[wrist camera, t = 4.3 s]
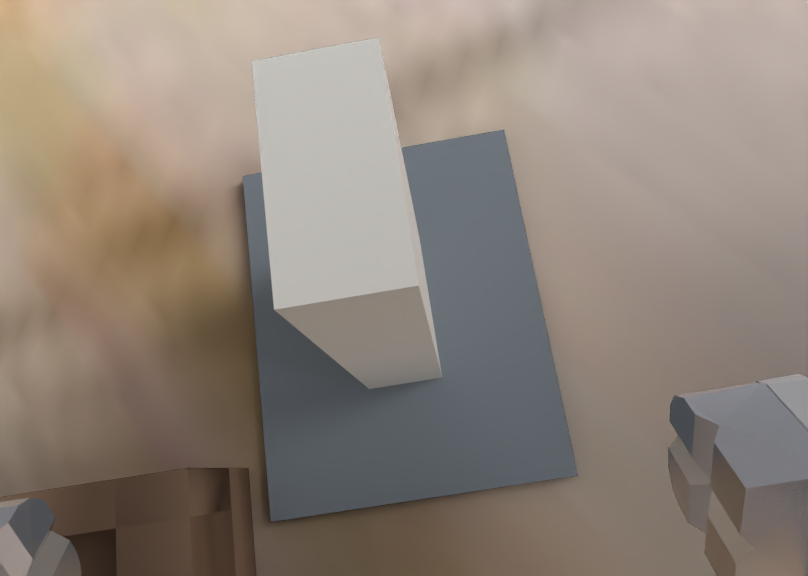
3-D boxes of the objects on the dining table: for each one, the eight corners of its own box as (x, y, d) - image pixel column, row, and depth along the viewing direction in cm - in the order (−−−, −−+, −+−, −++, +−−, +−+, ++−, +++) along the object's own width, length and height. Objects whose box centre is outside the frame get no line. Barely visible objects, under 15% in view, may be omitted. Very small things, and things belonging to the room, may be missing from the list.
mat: (503, 136, 19) (503, 129, 19) (575, 475, 17) (578, 475, 16) (246, 181, 20) (242, 175, 19) (275, 520, 17) (270, 521, 17)
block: (419, 239, 18) (379, 37, 10) (442, 377, 17) (418, 285, 9) (351, 251, 18) (251, 61, 10) (369, 389, 17) (274, 309, 9)
